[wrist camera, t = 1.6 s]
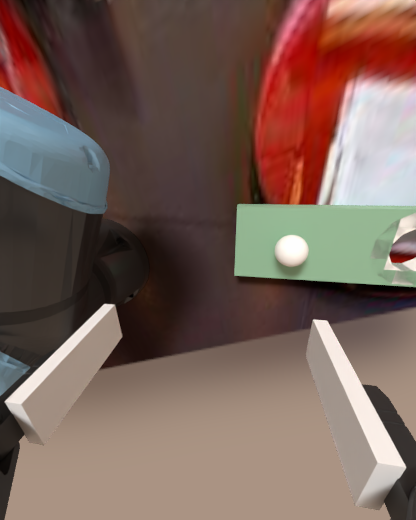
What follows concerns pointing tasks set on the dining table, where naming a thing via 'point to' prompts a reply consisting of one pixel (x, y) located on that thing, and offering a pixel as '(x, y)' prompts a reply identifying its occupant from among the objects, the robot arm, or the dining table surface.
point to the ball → (291, 250)
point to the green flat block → (326, 242)
